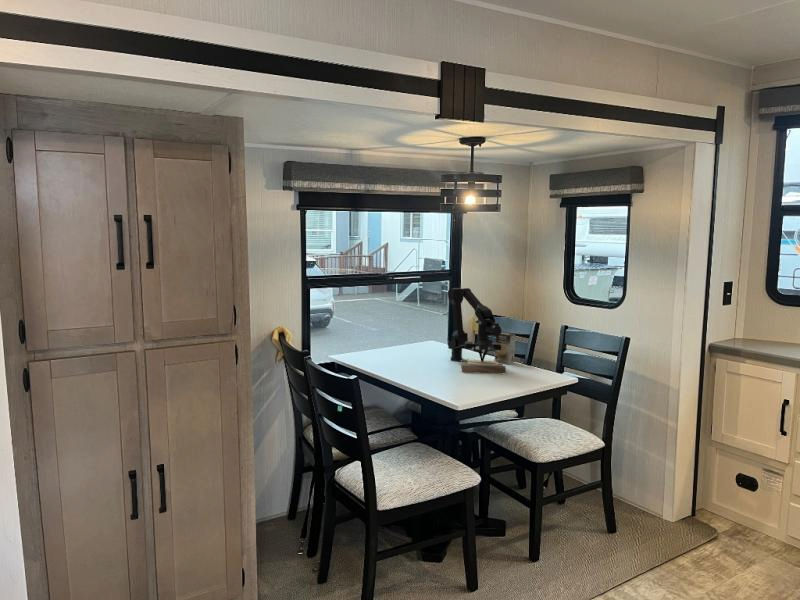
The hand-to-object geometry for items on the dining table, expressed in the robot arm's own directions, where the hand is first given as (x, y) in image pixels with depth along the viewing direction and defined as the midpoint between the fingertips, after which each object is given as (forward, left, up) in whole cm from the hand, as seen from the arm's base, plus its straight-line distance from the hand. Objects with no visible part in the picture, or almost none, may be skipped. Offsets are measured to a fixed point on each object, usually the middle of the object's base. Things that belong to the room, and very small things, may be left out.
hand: (482, 361), depth 313 cm
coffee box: (-13, +13, -3) cm, 19 cm away
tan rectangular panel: (+2, 0, -1) cm, 3 cm away
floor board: (+4, 0, -3) cm, 5 cm away
